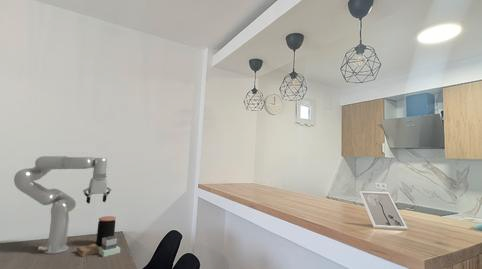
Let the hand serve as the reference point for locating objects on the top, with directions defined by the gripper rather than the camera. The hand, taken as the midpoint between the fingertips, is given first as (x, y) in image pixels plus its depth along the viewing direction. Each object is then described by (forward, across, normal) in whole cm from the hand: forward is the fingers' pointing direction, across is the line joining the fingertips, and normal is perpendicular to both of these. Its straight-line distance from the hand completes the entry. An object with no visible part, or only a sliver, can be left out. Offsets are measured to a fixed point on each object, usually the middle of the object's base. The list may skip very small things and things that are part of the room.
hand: (96, 202), depth 168 cm
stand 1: (+30, +3, +4) cm, 31 cm away
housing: (+27, -6, +12) cm, 30 cm away
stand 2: (+30, -6, +12) cm, 33 cm away
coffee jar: (+31, -10, -4) cm, 32 cm away
